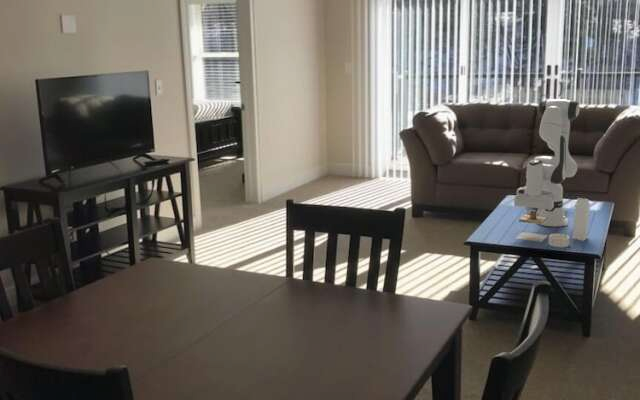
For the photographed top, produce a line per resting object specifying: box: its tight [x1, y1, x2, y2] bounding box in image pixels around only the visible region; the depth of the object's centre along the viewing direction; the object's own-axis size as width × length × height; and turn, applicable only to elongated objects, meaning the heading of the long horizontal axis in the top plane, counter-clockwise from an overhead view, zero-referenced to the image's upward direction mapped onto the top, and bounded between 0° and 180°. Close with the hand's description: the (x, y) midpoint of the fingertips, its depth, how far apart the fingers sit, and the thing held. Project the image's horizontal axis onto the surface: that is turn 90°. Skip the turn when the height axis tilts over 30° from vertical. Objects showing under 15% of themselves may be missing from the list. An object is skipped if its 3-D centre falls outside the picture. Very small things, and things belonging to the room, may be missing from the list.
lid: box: [518, 209, 547, 225], centre depth 370 cm, size 12×12×5 cm
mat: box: [515, 231, 549, 243], centre depth 372 cm, size 14×14×1 cm
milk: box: [572, 197, 591, 242], centre depth 366 cm, size 6×6×22 cm
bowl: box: [548, 233, 571, 248], centre depth 357 cm, size 10×10×5 cm
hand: (533, 215), depth 370 cm, fingers closed on lid, 3 cm apart
